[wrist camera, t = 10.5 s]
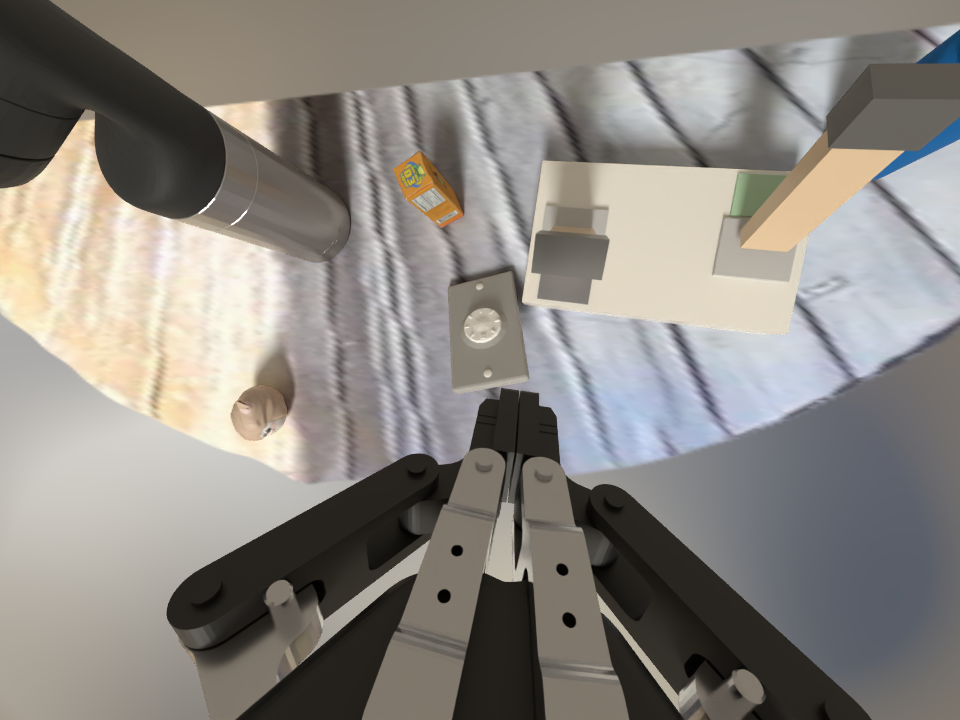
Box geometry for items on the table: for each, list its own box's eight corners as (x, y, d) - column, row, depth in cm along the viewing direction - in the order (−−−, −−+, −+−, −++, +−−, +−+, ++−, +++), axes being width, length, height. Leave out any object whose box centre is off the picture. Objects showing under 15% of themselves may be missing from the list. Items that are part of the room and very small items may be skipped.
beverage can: (859, 199, 34) (1019, 126, 22) (803, 156, 35) (929, 63, 23) (921, 141, 33) (1124, 32, 21) (861, 98, 33) (1025, -31, 22)
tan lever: (793, 255, 30) (980, 99, 18) (735, 250, 31) (873, 98, 18) (792, 231, 31) (973, 63, 18) (735, 226, 32) (870, 64, 19)
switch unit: (762, 334, 36) (791, 334, 32) (525, 305, 41) (521, 301, 37) (792, 191, 35) (826, 170, 31) (544, 178, 40) (542, 158, 35)
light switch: (510, 264, 40) (526, 373, 34) (519, 293, 44) (535, 393, 38) (444, 281, 41) (448, 388, 35) (459, 307, 46) (466, 405, 40)
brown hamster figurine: (304, 424, 48) (254, 441, 40) (266, 438, 49) (211, 456, 42) (287, 377, 48) (235, 385, 40) (250, 392, 49) (192, 402, 42)
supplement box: (428, 205, 43) (390, 165, 33) (454, 190, 42) (422, 146, 32) (439, 230, 43) (404, 198, 33) (465, 217, 42) (437, 180, 32)
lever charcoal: (593, 252, 34) (601, 280, 22) (547, 248, 35) (531, 272, 23) (598, 225, 33) (609, 239, 21) (550, 221, 34) (535, 233, 22)
